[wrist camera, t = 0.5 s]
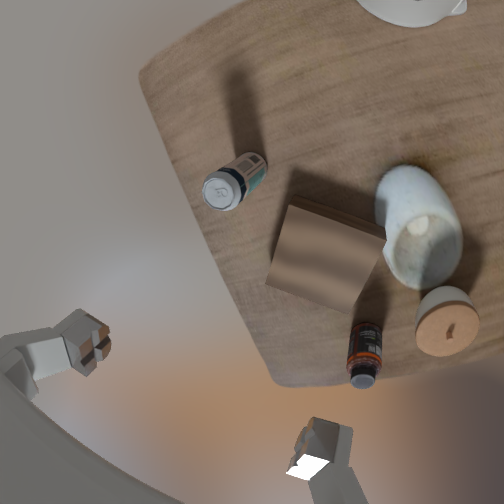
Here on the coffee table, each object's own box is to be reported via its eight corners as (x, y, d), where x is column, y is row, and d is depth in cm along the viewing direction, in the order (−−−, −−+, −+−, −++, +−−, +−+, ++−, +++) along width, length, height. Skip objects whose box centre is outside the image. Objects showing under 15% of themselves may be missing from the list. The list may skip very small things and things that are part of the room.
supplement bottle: (352, 345, 54) (345, 393, 45) (348, 322, 51) (340, 371, 42) (383, 342, 51) (381, 391, 42) (381, 319, 49) (379, 369, 40)
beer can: (233, 154, 43) (193, 177, 33) (263, 148, 41) (231, 170, 32) (241, 185, 45) (205, 216, 36) (271, 180, 43) (242, 211, 34)
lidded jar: (478, 302, 41) (491, 341, 33) (430, 333, 47) (435, 373, 39) (451, 261, 39) (466, 299, 32) (400, 298, 46) (403, 338, 38)
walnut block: (294, 194, 43) (288, 204, 40) (385, 228, 41) (386, 240, 38) (272, 270, 51) (265, 283, 48) (350, 299, 49) (348, 314, 46)
